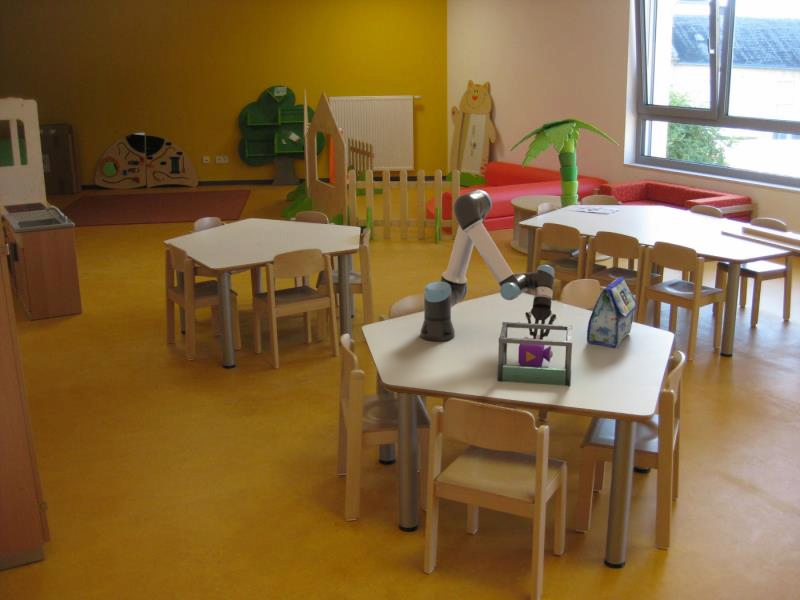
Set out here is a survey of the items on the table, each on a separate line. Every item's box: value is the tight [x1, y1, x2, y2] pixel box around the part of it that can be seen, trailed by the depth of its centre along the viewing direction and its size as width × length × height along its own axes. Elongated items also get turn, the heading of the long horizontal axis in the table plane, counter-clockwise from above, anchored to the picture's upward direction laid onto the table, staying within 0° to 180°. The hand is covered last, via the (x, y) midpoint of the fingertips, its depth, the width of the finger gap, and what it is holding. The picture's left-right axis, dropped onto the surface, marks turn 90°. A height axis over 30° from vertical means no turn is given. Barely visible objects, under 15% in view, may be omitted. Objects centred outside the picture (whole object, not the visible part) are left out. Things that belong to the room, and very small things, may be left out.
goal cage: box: [496, 321, 573, 387], centre depth 332 cm, size 28×21×17 cm
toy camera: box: [517, 336, 554, 368], centre depth 343 cm, size 11×14×10 cm
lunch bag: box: [586, 276, 638, 349], centre depth 368 cm, size 22×17×26 cm
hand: (536, 350), depth 347 cm, fingers closed
